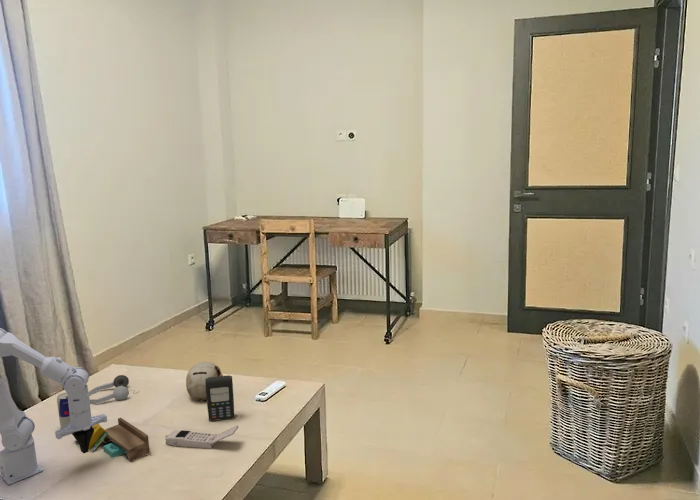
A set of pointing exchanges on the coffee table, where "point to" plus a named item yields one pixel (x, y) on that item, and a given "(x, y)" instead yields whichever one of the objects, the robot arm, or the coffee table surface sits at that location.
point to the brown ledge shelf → (128, 439)
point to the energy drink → (63, 409)
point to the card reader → (220, 397)
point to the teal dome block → (113, 450)
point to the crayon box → (97, 437)
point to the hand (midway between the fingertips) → (84, 451)
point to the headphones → (118, 393)
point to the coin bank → (200, 379)
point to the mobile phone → (196, 438)
